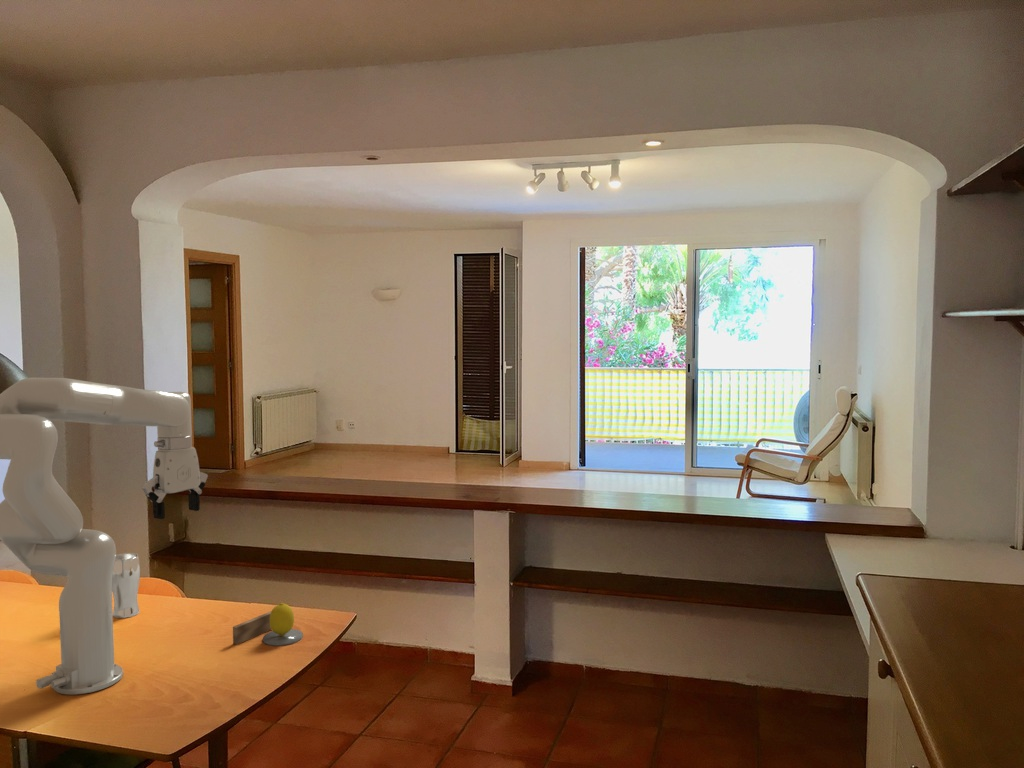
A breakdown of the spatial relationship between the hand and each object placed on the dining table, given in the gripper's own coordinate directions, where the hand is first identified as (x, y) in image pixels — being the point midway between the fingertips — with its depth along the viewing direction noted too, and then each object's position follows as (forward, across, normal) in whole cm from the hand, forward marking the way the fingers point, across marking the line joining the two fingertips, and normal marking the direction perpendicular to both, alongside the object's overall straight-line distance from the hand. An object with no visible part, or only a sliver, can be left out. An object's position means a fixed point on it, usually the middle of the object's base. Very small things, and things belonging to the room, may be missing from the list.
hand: (177, 514), depth 185 cm
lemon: (+28, +8, -26) cm, 39 cm away
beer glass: (+28, 0, +21) cm, 35 cm away
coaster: (+28, +8, -26) cm, 39 cm away
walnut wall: (+28, +8, -19) cm, 35 cm away
